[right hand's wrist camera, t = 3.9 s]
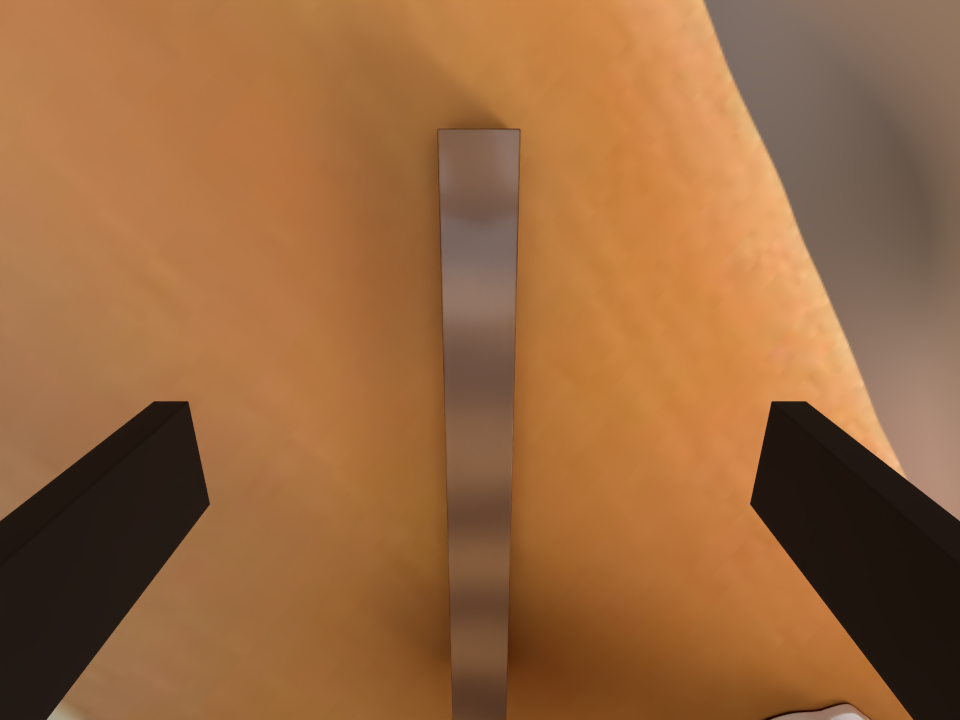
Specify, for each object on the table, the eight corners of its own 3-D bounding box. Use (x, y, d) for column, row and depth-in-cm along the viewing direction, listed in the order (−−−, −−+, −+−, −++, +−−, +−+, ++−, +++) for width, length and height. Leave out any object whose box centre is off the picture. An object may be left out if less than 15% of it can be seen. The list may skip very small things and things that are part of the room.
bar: (445, 131, 39) (436, 128, 32) (512, 131, 39) (520, 128, 32) (456, 669, 58) (453, 746, 51) (502, 669, 58) (505, 746, 51)
